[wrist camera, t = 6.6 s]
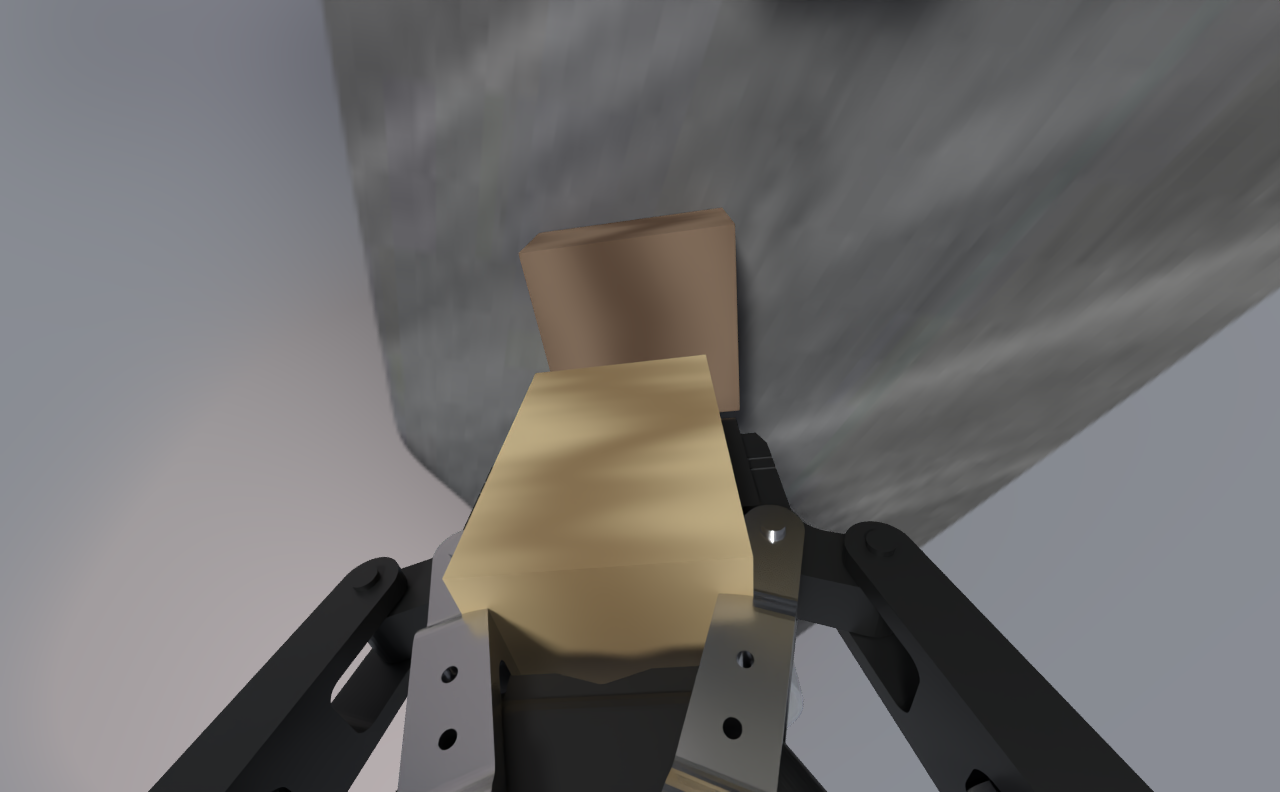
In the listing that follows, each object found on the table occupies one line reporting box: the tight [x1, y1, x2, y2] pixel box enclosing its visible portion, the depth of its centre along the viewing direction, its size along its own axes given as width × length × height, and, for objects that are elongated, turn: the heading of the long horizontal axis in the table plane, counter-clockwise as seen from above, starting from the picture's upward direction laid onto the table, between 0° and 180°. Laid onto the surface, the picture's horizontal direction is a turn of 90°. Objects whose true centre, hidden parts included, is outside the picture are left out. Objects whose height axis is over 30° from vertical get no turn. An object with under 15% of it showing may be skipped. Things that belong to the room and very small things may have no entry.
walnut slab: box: [519, 208, 740, 412], centre depth 23 cm, size 9×9×4 cm
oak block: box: [442, 355, 753, 684], centre depth 11 cm, size 5×5×7 cm
